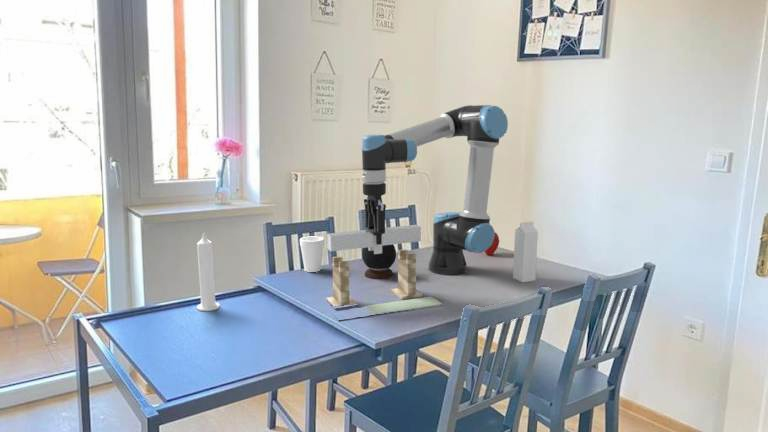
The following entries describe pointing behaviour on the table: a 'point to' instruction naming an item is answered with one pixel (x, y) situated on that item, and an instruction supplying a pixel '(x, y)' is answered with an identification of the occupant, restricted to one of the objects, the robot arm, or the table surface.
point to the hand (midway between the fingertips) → (375, 251)
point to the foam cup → (312, 252)
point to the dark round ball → (379, 262)
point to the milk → (525, 252)
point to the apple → (493, 246)
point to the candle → (206, 275)
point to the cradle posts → (403, 291)
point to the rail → (372, 237)
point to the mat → (404, 305)
